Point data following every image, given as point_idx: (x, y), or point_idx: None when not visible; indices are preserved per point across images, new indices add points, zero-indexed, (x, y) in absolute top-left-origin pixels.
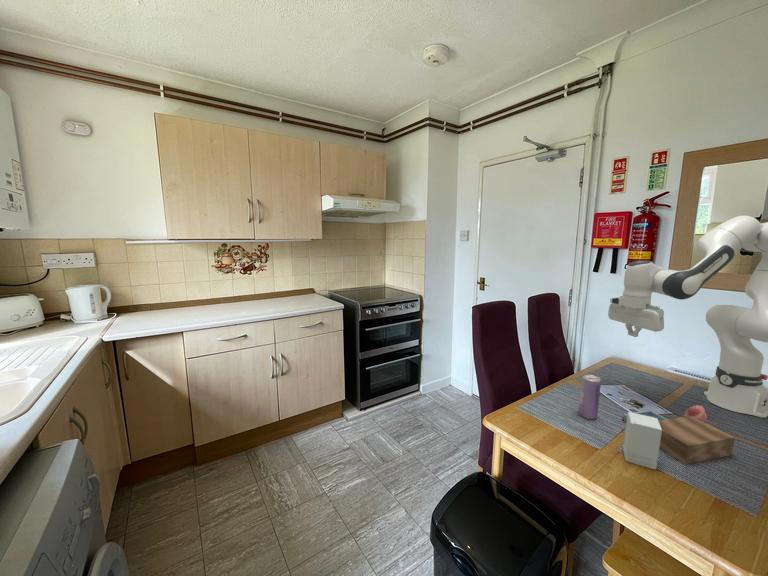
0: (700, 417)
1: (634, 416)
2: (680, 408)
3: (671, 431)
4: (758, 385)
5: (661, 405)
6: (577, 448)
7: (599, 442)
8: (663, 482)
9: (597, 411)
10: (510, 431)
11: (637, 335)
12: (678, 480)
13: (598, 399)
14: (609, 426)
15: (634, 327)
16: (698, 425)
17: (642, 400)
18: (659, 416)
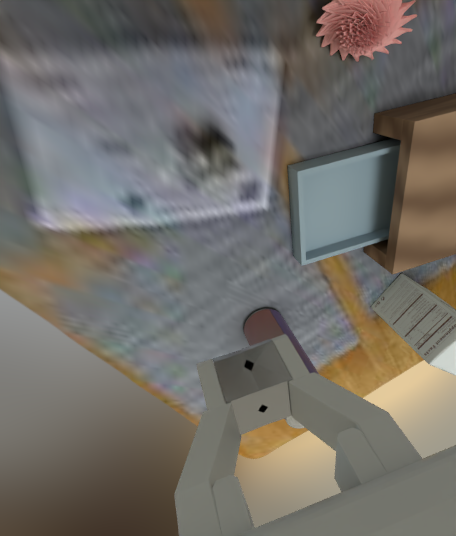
0: (396, 41)
1: (447, 362)
2: None
3: (434, 245)
4: None
5: (222, 38)
6: (349, 369)
7: (346, 335)
8: (443, 292)
9: (286, 323)
10: (291, 437)
11: (290, 347)
12: (450, 269)
13: (303, 350)
14: (308, 297)
15: (342, 490)
16: (450, 149)
17: (179, 94)
18: (329, 168)
